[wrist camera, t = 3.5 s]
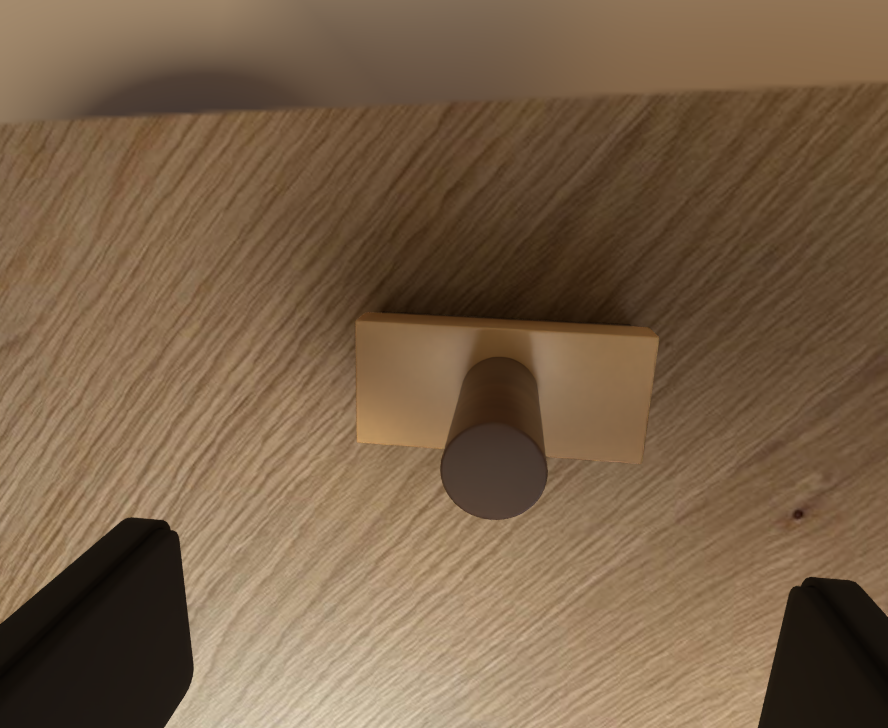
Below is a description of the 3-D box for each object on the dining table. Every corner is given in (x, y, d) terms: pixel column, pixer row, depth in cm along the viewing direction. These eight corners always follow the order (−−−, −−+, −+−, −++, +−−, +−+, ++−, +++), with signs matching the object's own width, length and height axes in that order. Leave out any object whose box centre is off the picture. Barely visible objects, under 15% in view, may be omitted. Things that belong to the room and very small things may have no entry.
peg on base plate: (374, 304, 23) (289, 371, 14) (640, 318, 22) (723, 399, 13) (375, 413, 24) (297, 536, 15) (626, 431, 23) (693, 573, 14)
